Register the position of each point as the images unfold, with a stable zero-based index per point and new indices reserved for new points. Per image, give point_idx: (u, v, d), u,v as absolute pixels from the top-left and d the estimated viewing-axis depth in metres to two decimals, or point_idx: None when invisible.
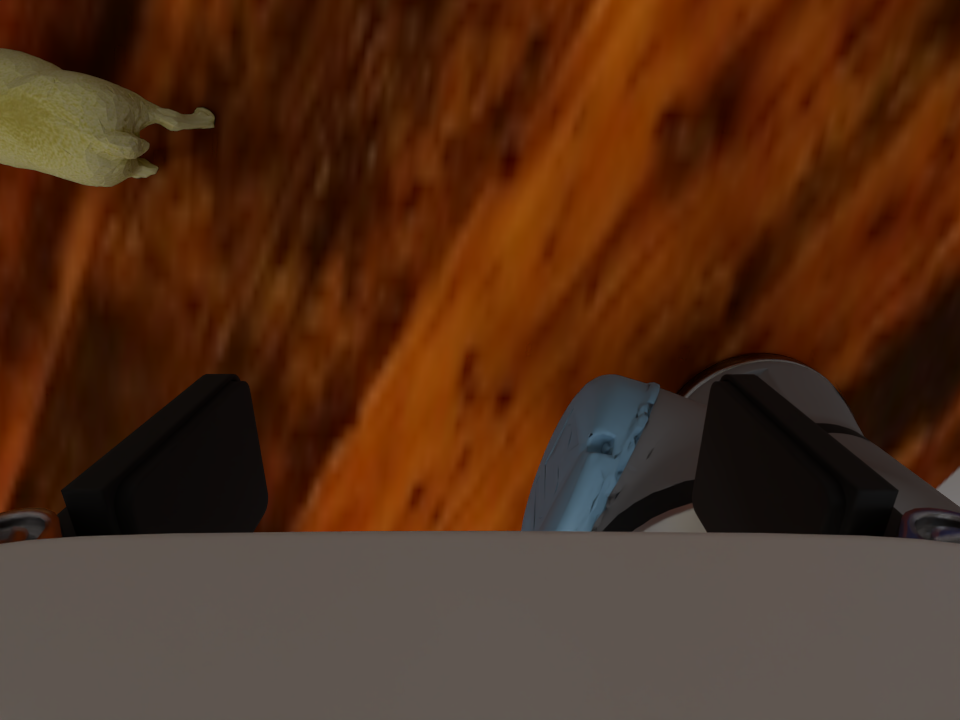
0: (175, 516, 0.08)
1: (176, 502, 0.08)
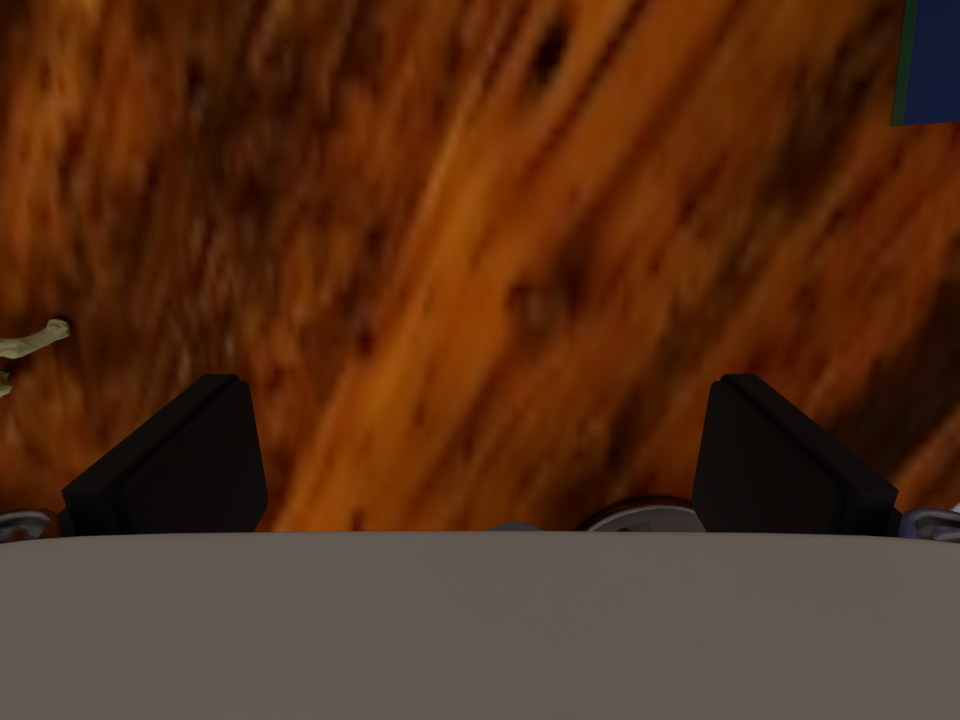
0: (175, 516, 0.08)
1: (176, 502, 0.08)
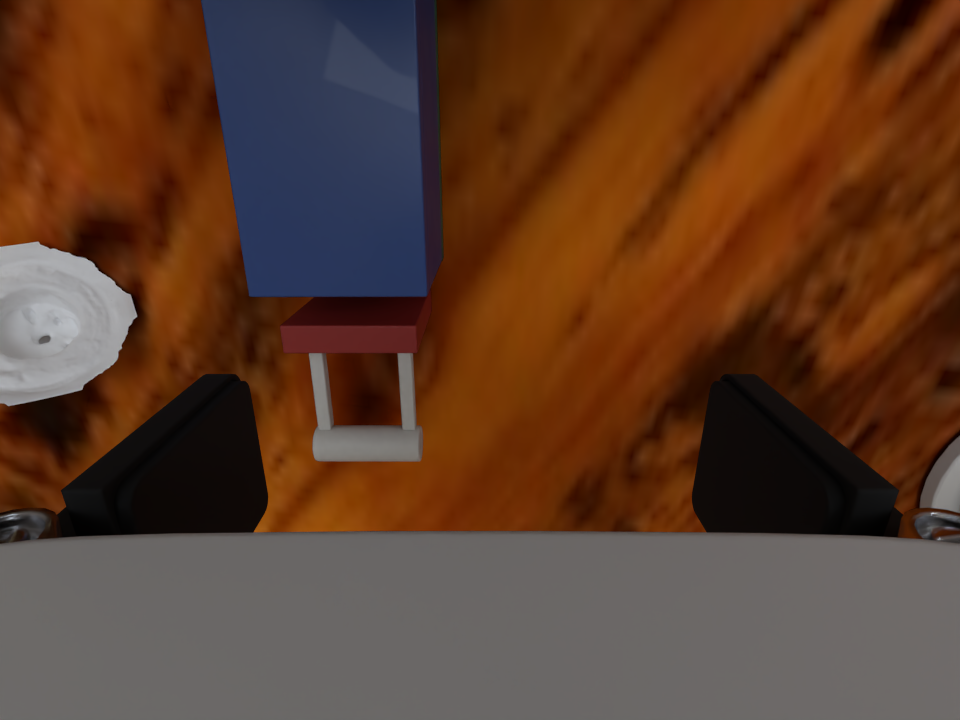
0: (175, 516, 0.08)
1: (176, 502, 0.08)
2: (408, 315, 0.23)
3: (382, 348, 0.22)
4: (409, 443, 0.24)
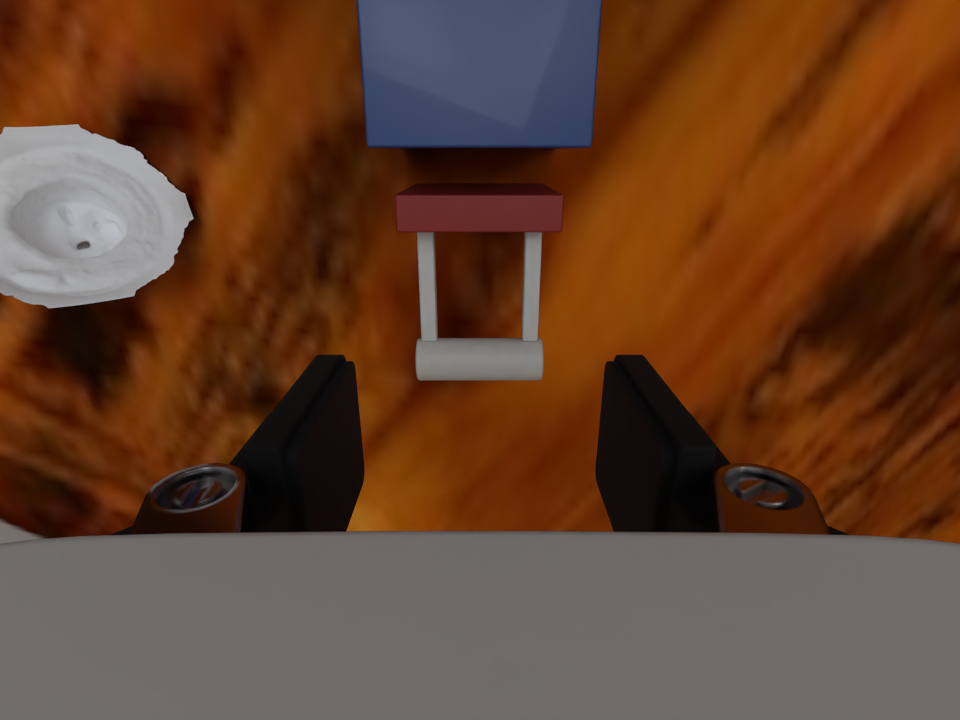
0: (319, 476, 0.09)
1: (320, 464, 0.09)
2: (544, 191, 0.18)
3: (520, 226, 0.18)
4: (532, 356, 0.20)
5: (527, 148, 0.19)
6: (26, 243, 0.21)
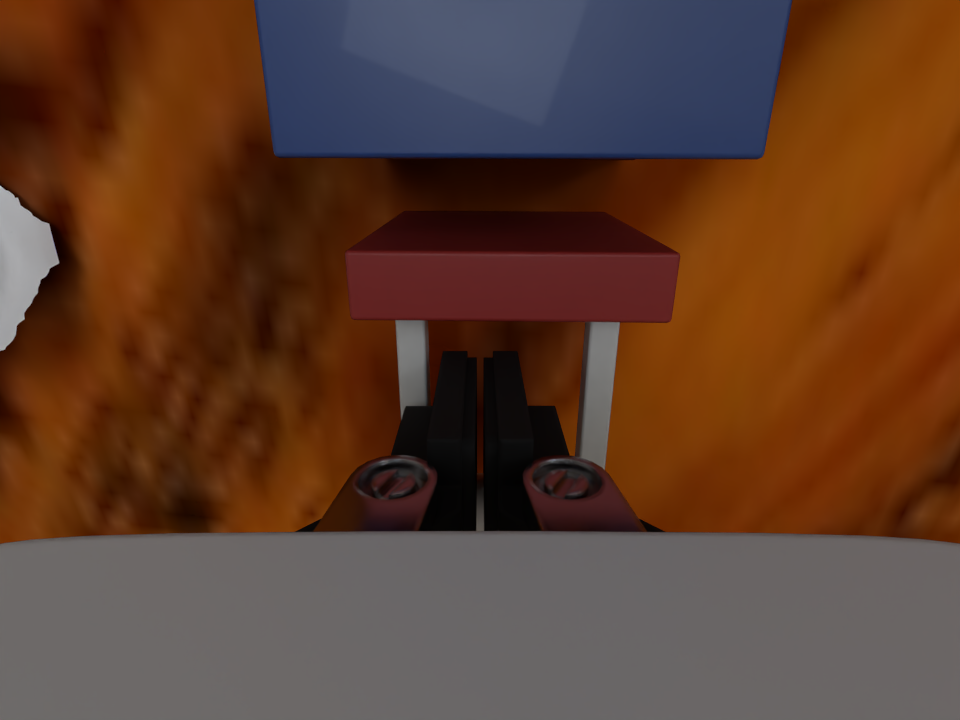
0: (475, 469, 0.09)
1: None
2: (630, 238, 0.10)
3: (590, 311, 0.09)
4: None
5: None
6: None
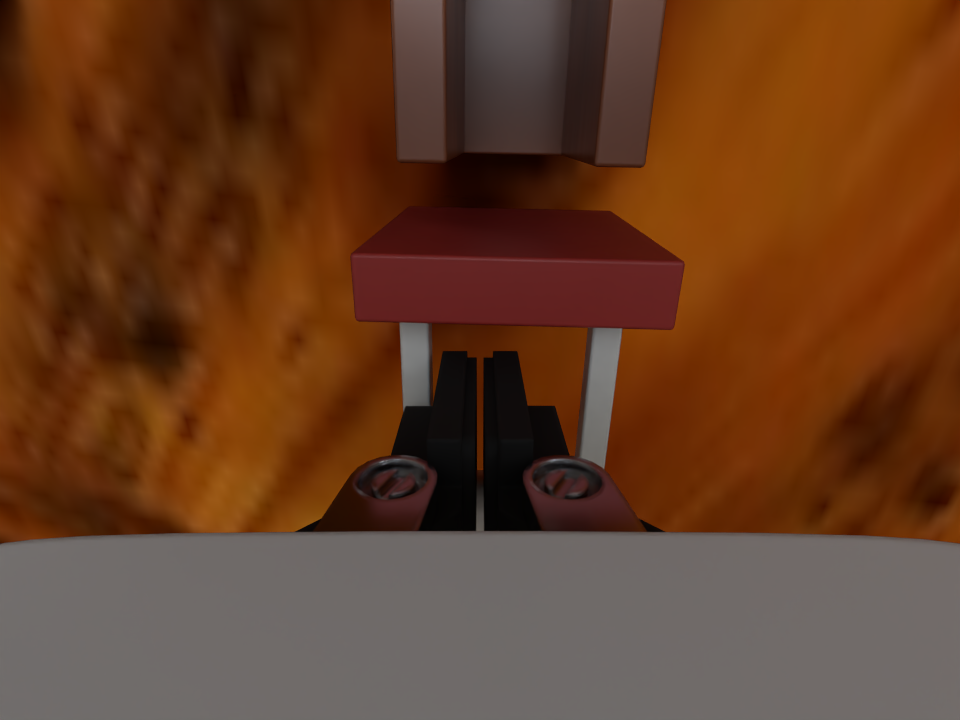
0: (475, 469, 0.09)
1: (475, 457, 0.09)
2: (634, 244, 0.10)
3: (593, 318, 0.09)
4: None
5: None
6: None
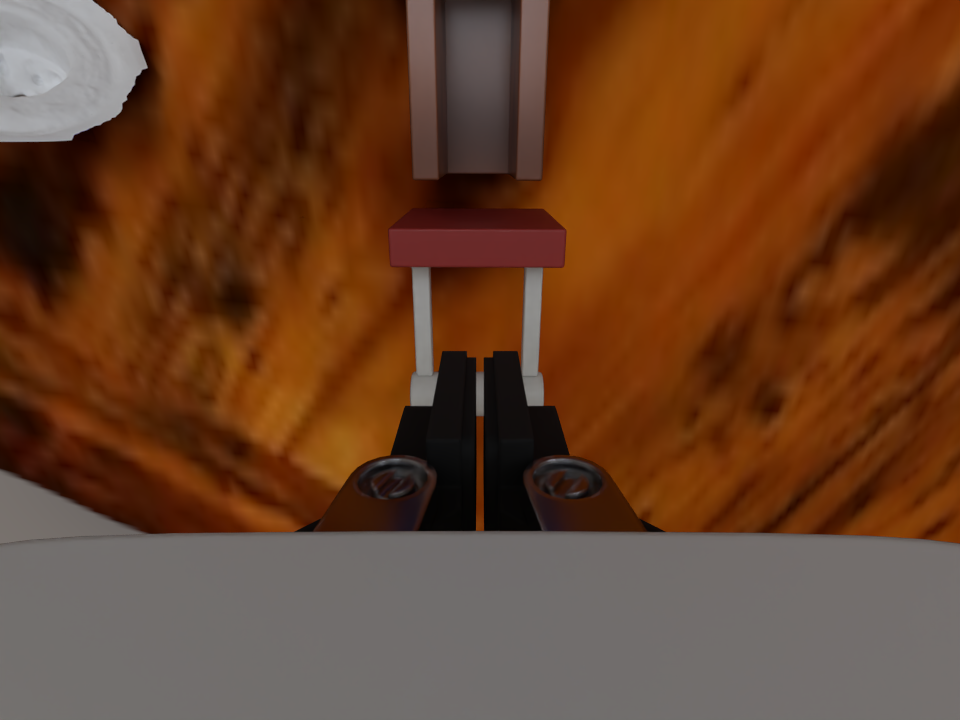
0: None
1: None
2: (545, 223, 0.18)
3: (520, 261, 0.17)
4: (532, 392, 0.20)
5: None
6: None
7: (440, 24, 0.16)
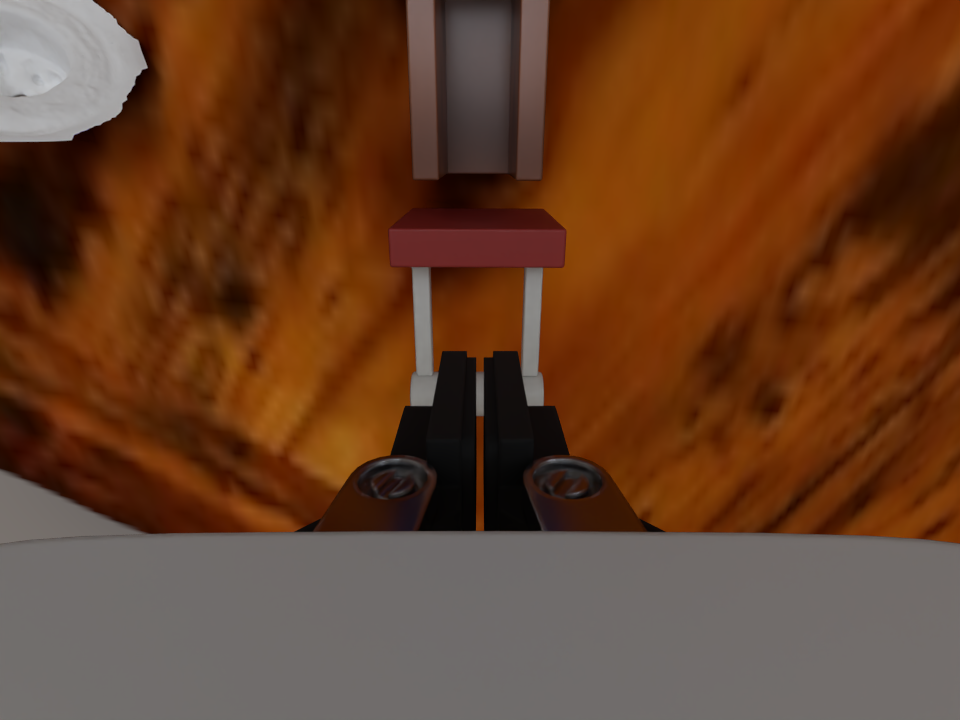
0: None
1: None
2: (545, 223, 0.18)
3: (520, 261, 0.17)
4: (532, 392, 0.20)
5: None
6: None
7: (440, 24, 0.16)
